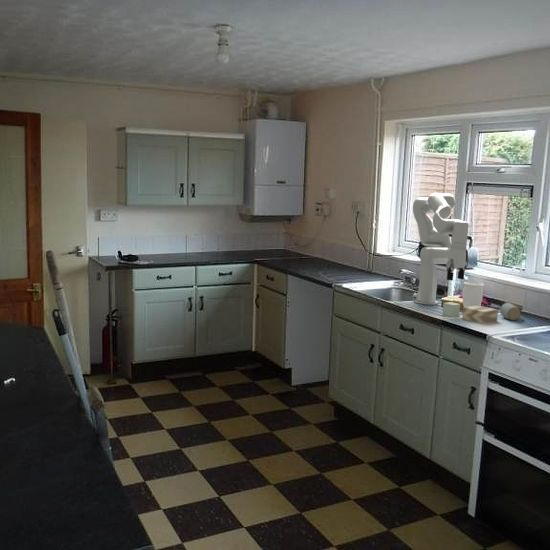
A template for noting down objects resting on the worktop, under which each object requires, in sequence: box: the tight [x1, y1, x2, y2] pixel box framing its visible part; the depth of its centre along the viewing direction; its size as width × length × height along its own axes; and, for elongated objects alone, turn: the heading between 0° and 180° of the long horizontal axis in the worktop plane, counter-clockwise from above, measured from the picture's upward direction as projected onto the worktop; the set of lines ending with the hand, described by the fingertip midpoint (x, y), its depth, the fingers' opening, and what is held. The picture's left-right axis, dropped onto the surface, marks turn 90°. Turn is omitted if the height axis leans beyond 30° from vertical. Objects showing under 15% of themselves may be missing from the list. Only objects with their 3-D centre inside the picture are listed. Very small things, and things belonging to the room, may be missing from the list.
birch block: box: [461, 305, 499, 324], centre depth 310 cm, size 12×12×6 cm
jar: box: [462, 281, 485, 307], centre depth 331 cm, size 11×10×15 cm
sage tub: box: [441, 301, 461, 317], centre depth 318 cm, size 6×6×6 cm
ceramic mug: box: [499, 302, 524, 321], centre depth 316 cm, size 11×8×8 cm
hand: (455, 279), depth 316 cm, fingers open, 9 cm apart
